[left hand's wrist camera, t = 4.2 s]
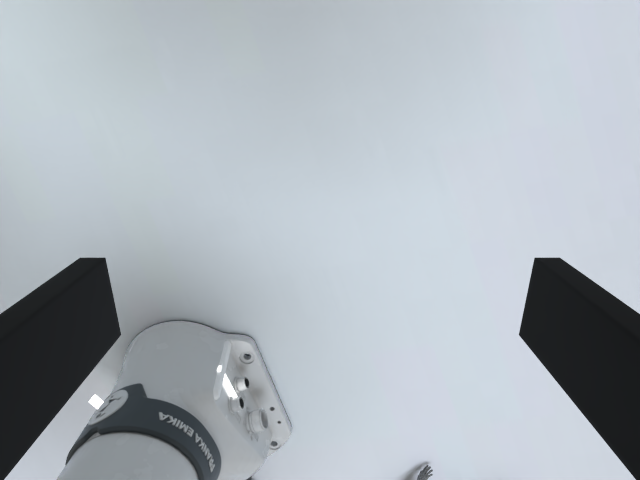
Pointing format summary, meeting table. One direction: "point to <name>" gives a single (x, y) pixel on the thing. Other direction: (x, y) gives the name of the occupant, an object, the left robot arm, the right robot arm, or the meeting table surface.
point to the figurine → (424, 474)
